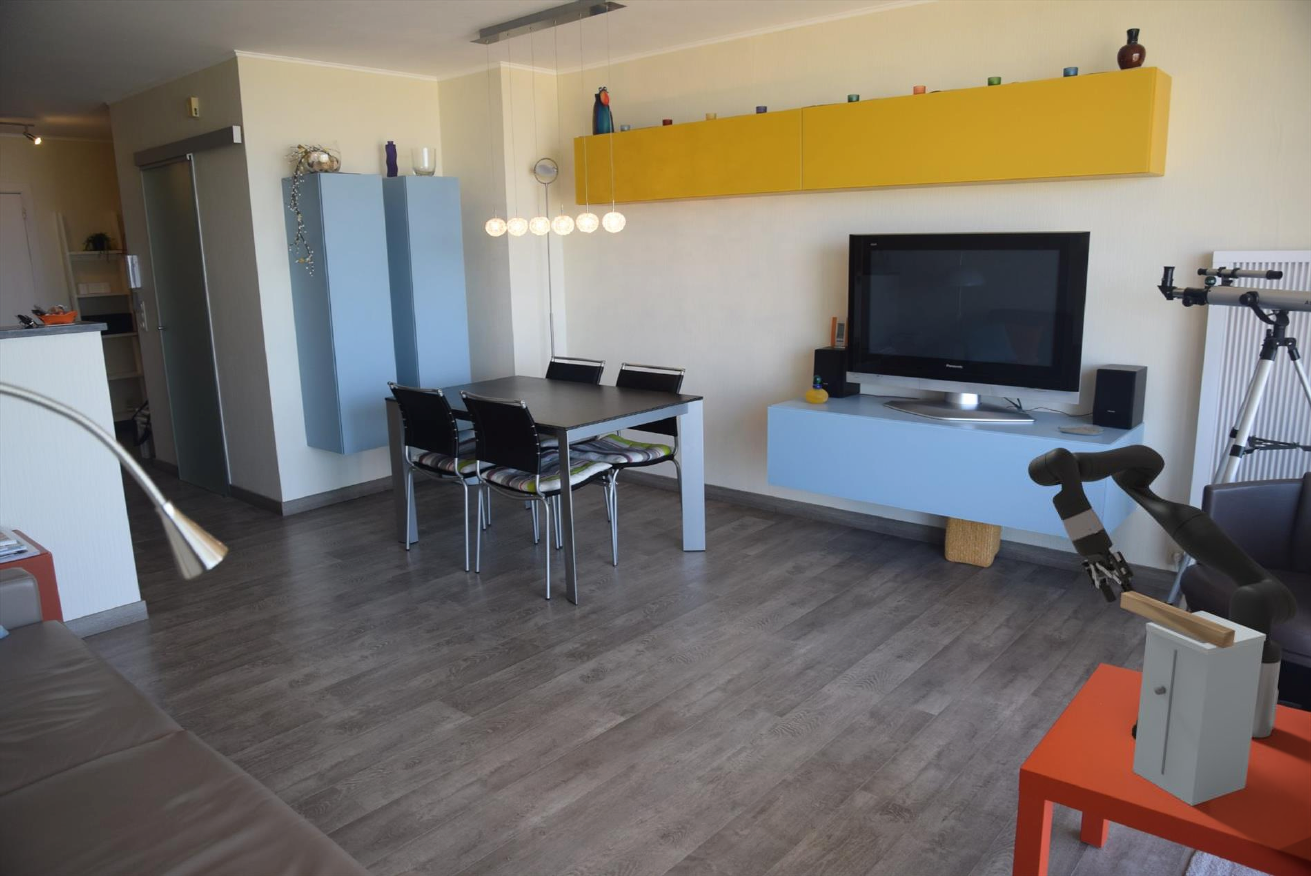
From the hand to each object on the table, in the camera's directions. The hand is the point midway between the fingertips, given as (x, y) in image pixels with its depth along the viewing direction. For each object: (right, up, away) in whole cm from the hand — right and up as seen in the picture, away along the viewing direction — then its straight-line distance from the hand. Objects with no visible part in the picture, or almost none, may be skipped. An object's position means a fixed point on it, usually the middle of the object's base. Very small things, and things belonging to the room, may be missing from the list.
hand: (1122, 600), depth 202 cm
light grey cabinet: (+3, -32, -20) cm, 38 cm away
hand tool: (+6, -28, +2) cm, 29 cm away
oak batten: (-3, 0, -25) cm, 25 cm away
